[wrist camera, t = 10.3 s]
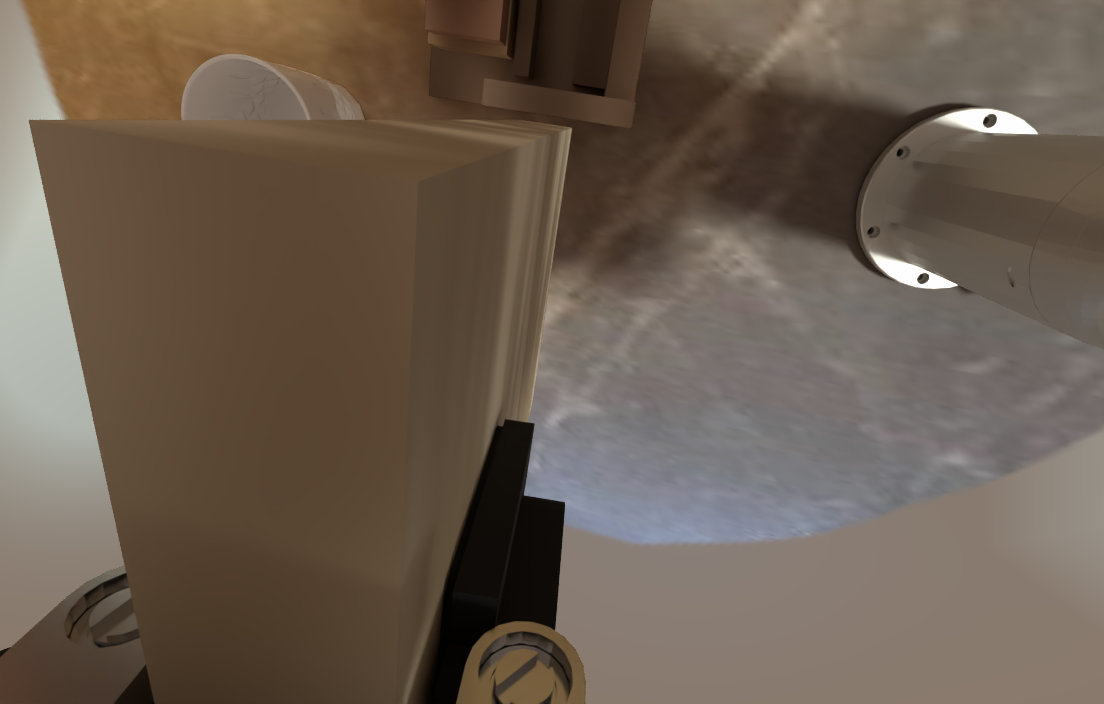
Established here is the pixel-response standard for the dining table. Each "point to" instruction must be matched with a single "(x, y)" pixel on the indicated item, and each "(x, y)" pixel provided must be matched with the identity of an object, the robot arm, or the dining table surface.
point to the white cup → (263, 93)
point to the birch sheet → (300, 377)
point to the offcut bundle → (473, 26)
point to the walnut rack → (556, 62)
